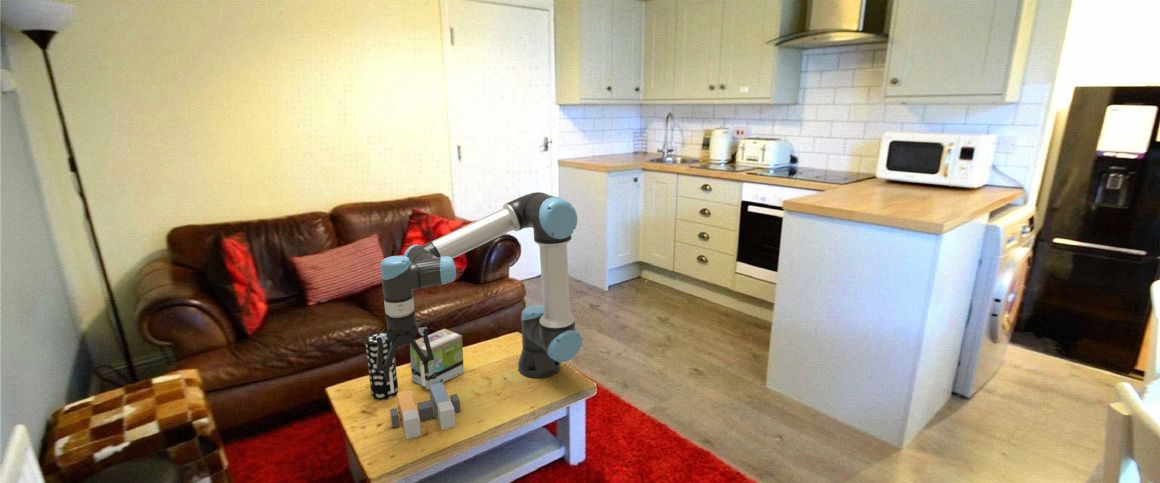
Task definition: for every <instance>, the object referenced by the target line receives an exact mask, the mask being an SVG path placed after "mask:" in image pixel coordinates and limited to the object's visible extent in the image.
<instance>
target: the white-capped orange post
mask: <svg viewBox="0 0 1160 483" xmlns="http://www.w3.org/2000/svg"><path fill="white" fill-rule="evenodd" d="M396 396H397V403H398V405H397V406H398V410H399V414H400V418H401V423H402V426H403V430H404V435H405V437H406V438H405V439H406V440H410V439H414V438H417V437H421V436H422V432H421V421H420V418H419V415H418V407H417V408H416V404H415V401H414V397H413V394H412V391H411V389H409V390H405V391H404V390H403V391H398V393H397V395H396Z"/></svg>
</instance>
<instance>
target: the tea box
mask: <svg viewBox="0 0 1160 483" xmlns="http://www.w3.org/2000/svg"><path fill="white" fill-rule="evenodd" d="M428 339H429V343H430V346H431V350H432V353H433V357H434V360H432V361H429V362H428V373H426V374H425V383H426V386H423V385H422V382H421V372H420V361H422V360H421V359H420V357H419V356H418V354H417V352H416V351H415V349H414V348H413V347H412V345H411V344H409V353H410V354H409V356H410V369H411V370H410V371H411V381H412V382H414V383H416V384H417V385H419V386H421V387H423V388H425V389H426V390H429V391H430V385H434V384H438V383H443V384H444V383H445V382H447V381H449V380H451V379H454V378H456V377H458V376H459V375H462V374H463V373H465V371H464V368H465V367H464V366H465V365H464V349H463V346H464V345H463V335H461V334H459V333H456V332H453V331H451V330H449V329H447V328H443V329H440V330H437V331H435V332H432V333H431V334H428ZM415 341H416V343H417V344H418V346H419V347H420V349H421V350H422V352H423V353H424V355H425V356H427V355H428V353H427V350H426V347H425V343H424V340H423V337H420V338H418V339H415Z"/></svg>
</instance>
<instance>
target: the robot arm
mask: <svg viewBox="0 0 1160 483" xmlns="http://www.w3.org/2000/svg"><path fill="white" fill-rule="evenodd" d="M577 225H578V214H577V211H576V209H575V207H574V206H573V205H572V204H571V203H570V202H569V201H567V200H565V199H564V198H562V197H559V196H553V195H551V194H548V193H544V192H541V191H540V192H530V193H527V194H525V195H523V196H519V197H517V198H515V199H513V200H510V201H509V202H506V203H504V204H503V205H502V208H501V209H499V210H496V211H494V212H492V213H490V214H488V215H486V216H483V217H482V218H479V219H477V220H475V221H472V222H471V223H468V224H467V225H464V226H462V227H460V228H458V229H456V230H454V231H451V232H449V233H446V234H445V235H443V236H440V237H438V238H436V239H434V240H432V241H429V242H427V243H424V244H423V245H421V244H413V245H410V246H408V248H406V250H405V252H404V254H403V255H393V256H388V257H385V258H383V259H382V260H381V262H380V278H381V284H382V293H383V294H382V295H383V303H384V304H383V305H384V312H385V315H386V316H385V319H386V320H385V321H386V331H385V332H386V334H383V335H377V336H376V339H377V343H378V350H377V364H376V366H377V371H378V372H380V371H383V372H384V374H385V381H386V382H389V381H390V389H391V393H394V384H393V376H392V370H391V367H390V366H391V363H392V360H393V357H394V355H395V354H396V352H397V350H398V348H399V347H401V346H403V345H404V346H405V345H410V344H411V345H412V347H413V348H414V349H415V351H416V352H417V354H418V356H419V357H420V359H421V360H422V361H420V372H421V382H422V385H423V386H426V383H425V374H426V373H428V362H429V361H432V360H434V357H433V353H432V350H431V346H430V343H429V339H428V335H429V329H428V326H426V325H424V326H422V327H418V325H417V320H416V313H415V303H414V302H415V301H414V291H415V290H421V289H424V288H426V289H427V288H431V287H436V286H440V285H441V286H443V285H446V284H449V283H453V282H454V281H455V280H456V277H457V267H456V264H455V261H454V259H455V258H457V257H460V256H461V255H464V254H466V253H468V252H470V251H472V250H475V248H476V249H477V248H478V247H480V246H482V245H484V244H486V243H490V242H491V241H493V240H495V239H498V238H499V237H501V236H503V235H506V234H507V233H509V232H512V231H515V232H519V231H521V230H523V229H526V228H532V229H533V239H534V240H533V241H534V243H535V244H537V245H538V247H539V258H540V259H539V261H540V275H541V289H542V290H541V292H542V304H536V305H531V306H528V307H526V308H524V309H523V310H522V311H521V318H520V321H521V341H522V349H521V352H520V356H519V358H518V362H517V366H518V372H519V373H520V374H521V375H523V376H525V377H528V378H532V379H542V378H544V379H545V378H549V377H552V376H554V375H555V374H557V373H558V372H559V371H560V370H561V363H566V362H568V361H571V360H572V359H573V358H575V357H576V356H577V354H578V353H579V351H580V350H581V348H582V346H583V345H582V344H583V338H582V335H581V334H580V332H579V331H577V330H576V319H575V316H574V315H573V314H572V313H571V306H570V303H571V302H570V283H569V267H568V266H569V264H568V263H569V262H568V243H570V241H572V235H573V234H574V231H575V229H576V228H577ZM418 333H419V335H420V336H422V338H423V340H424V343H425V347H426V350H427V353H428V355H427V356H425V355H424V353H423V352H422V350H421V349H420V347H419V346H418V344H417V343H416V341H415V340H416V339H415V338H416V336H417V335H418ZM386 338H388V339H389V340H390V341H391V346H390V349H389V352H388V355H387V358H386V361H385V363H384V365H382V361H383V343H385V340H386ZM423 386H422V387H423Z"/></svg>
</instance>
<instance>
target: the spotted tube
mask: <svg viewBox="0 0 1160 483" xmlns="http://www.w3.org/2000/svg"><path fill="white" fill-rule="evenodd" d="M386 332H387V331H379V332H375V333H371V334H369V335H367V336H366V337H365V338H364V345H365V353H366V360H367V362H366V363H367V368H368V370H367V371H368V378H369V384H370V393H371V397H372V399H374V400H375V401H376V400H377V401H385V400H390V399H393V398H394V397H396V396H397V393H399V385H398V384H399V382H398V374H397V365H396V357H395V355H394V357H393V360H392V363H391V366H390V367H391V370H392V376H393V384H394V393H391V389H390V381H389V382H386V381H385V374H384V372H383V371H380V372H378V371H377V366H376V364H377V350H378V343H377V339H376V336H377V335H383V334H386ZM390 346H391V341H390V340H389V339H388V338H386V340H385V343H383V361H382V365H384V363H385V361H386V358H387V355H388V352H389V349H390Z"/></svg>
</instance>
